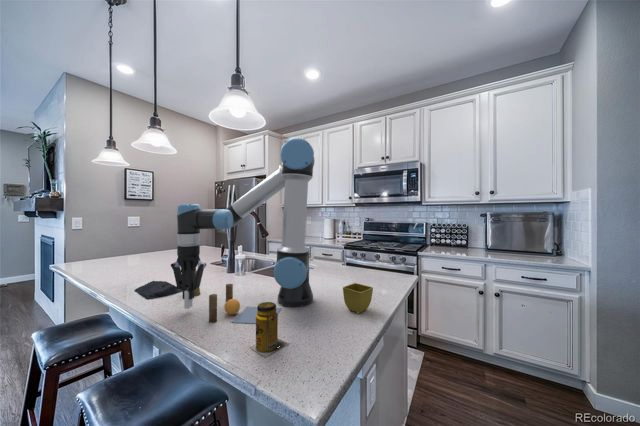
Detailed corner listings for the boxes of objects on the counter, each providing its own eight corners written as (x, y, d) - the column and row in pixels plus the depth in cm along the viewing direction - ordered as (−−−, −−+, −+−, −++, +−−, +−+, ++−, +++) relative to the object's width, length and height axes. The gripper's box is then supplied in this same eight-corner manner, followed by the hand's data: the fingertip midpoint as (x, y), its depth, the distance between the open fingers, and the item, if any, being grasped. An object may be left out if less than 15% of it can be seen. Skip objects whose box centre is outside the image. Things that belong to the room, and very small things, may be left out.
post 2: (233, 306, 99) (233, 283, 99) (230, 308, 96) (231, 285, 96) (227, 305, 99) (227, 283, 99) (224, 308, 97) (224, 285, 97)
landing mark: (281, 308, 97) (281, 307, 97) (271, 324, 83) (271, 323, 83) (246, 307, 98) (246, 306, 98) (231, 322, 84) (231, 322, 84)
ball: (237, 313, 94) (245, 301, 94) (231, 320, 88) (239, 307, 88) (225, 306, 94) (232, 294, 94) (218, 312, 89) (226, 299, 88)
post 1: (218, 319, 86) (218, 294, 86) (214, 322, 84) (214, 296, 84) (211, 319, 87) (211, 293, 87) (207, 322, 84) (207, 296, 84)
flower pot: (373, 310, 96) (373, 287, 96) (361, 317, 89) (361, 292, 89) (354, 304, 102) (355, 282, 102) (341, 310, 95) (342, 287, 95)
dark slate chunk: (166, 284, 130) (166, 275, 130) (185, 292, 116) (185, 282, 116) (131, 291, 118) (131, 281, 118) (148, 302, 104) (148, 291, 104)
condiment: (249, 347, 69) (249, 305, 69) (273, 336, 75) (273, 297, 75) (265, 357, 64) (265, 312, 64) (289, 344, 71) (289, 302, 71)
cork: (194, 297, 109) (194, 272, 109) (182, 296, 110) (182, 271, 110) (203, 293, 115) (203, 269, 115) (191, 292, 116) (192, 268, 116)
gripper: (210, 243, 96) (210, 304, 96) (178, 243, 97) (178, 303, 97) (199, 246, 88) (199, 312, 88) (165, 245, 89) (165, 310, 89)
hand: (188, 307), depth 93 cm, fingers closed
